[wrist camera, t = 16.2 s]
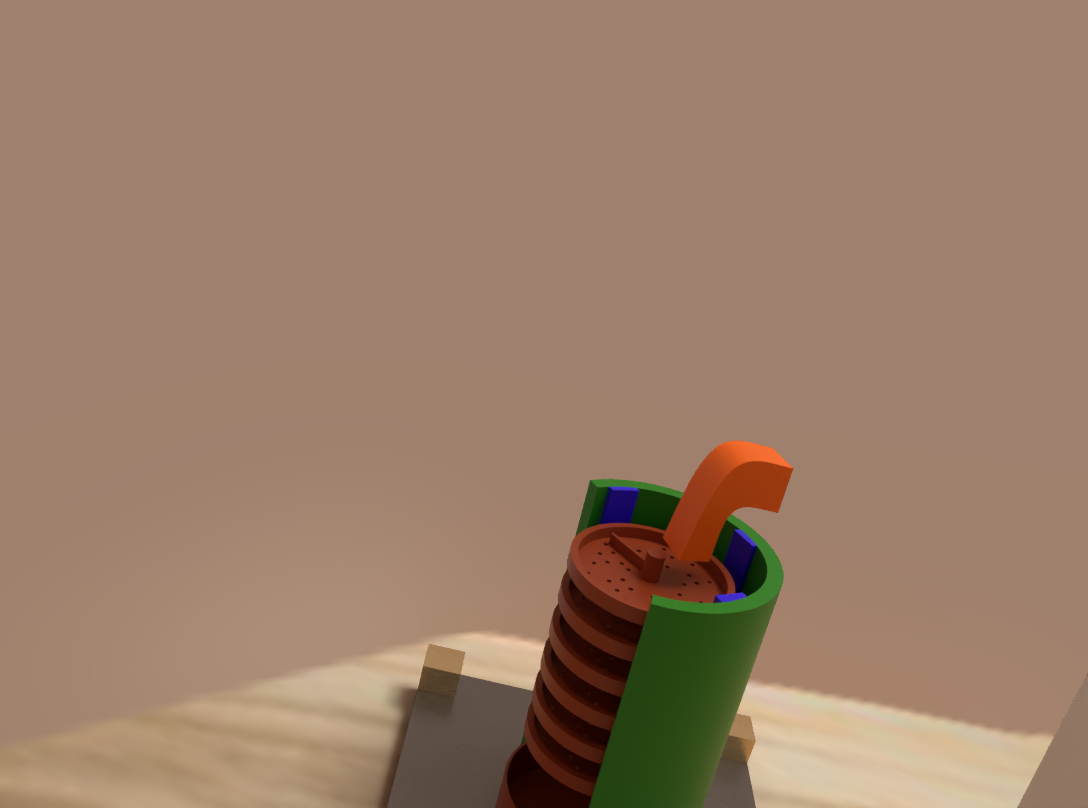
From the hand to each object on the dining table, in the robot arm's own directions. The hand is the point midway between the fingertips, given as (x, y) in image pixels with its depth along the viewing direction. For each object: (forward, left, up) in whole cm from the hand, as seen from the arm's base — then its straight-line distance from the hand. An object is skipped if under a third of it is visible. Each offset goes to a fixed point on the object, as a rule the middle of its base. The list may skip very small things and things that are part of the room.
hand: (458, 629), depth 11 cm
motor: (+8, +29, -29) cm, 41 cm away
